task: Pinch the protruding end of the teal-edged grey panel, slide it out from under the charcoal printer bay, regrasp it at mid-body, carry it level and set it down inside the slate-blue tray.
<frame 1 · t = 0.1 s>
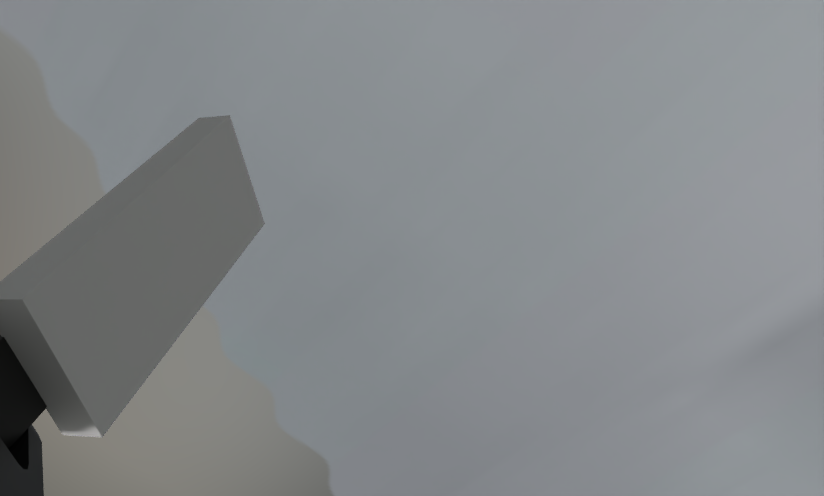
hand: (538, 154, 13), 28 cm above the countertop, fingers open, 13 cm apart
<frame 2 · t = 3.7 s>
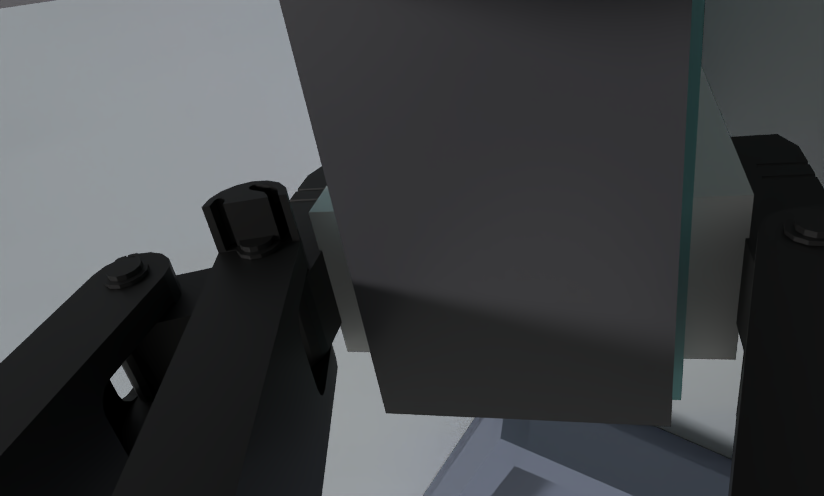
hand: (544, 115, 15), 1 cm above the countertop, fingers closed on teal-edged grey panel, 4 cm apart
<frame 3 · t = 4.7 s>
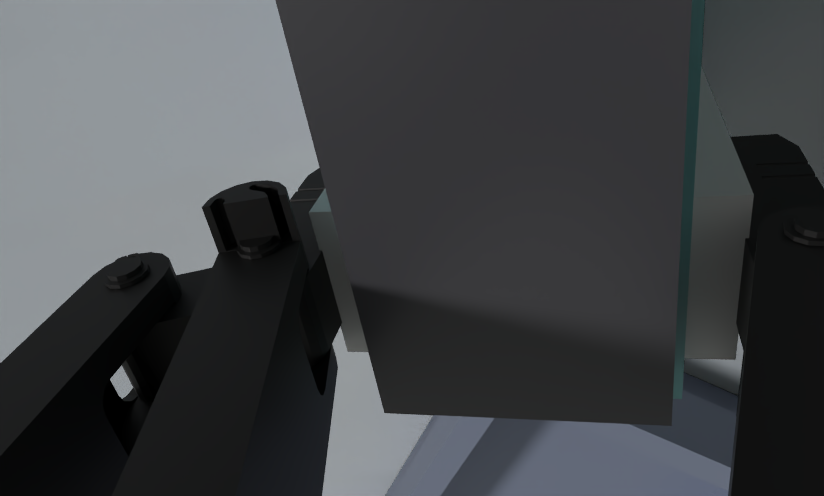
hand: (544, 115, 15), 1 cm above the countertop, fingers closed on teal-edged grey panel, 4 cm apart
when the fingers open (1 cm above the countertop, at t = 5.7 s): teal-edged grey panel stays where it is, on the countertop.
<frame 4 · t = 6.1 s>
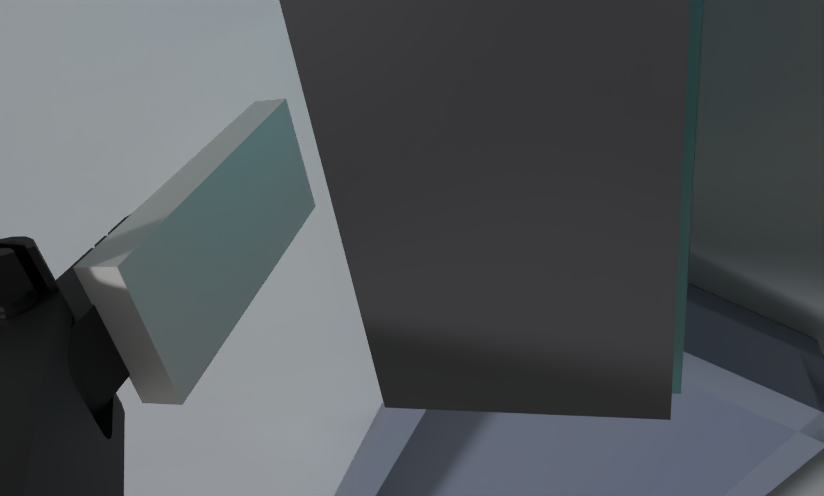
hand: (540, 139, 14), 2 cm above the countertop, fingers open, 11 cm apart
tray: (519, 445, 23), on the countertop
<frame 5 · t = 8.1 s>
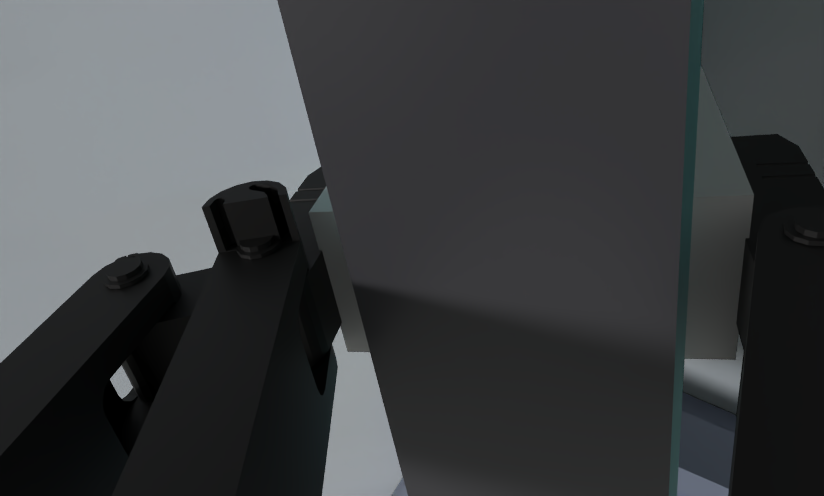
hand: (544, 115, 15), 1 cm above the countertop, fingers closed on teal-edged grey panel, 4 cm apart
teal-edged grey panel: (547, 88, 16), on the countertop, touching gripper
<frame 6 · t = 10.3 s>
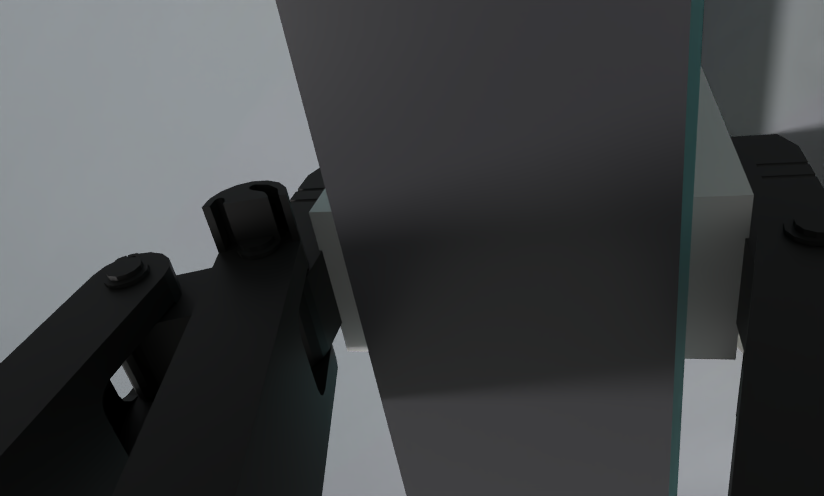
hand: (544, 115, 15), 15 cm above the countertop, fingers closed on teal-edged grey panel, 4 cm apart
teal-edged grey panel: (546, 90, 16), point 14 cm above the countertop, touching gripper
when the fingers open (4 cm above the countertop, at t = 12.6 s): teal-edged grey panel drops 2 cm, resting on tray.
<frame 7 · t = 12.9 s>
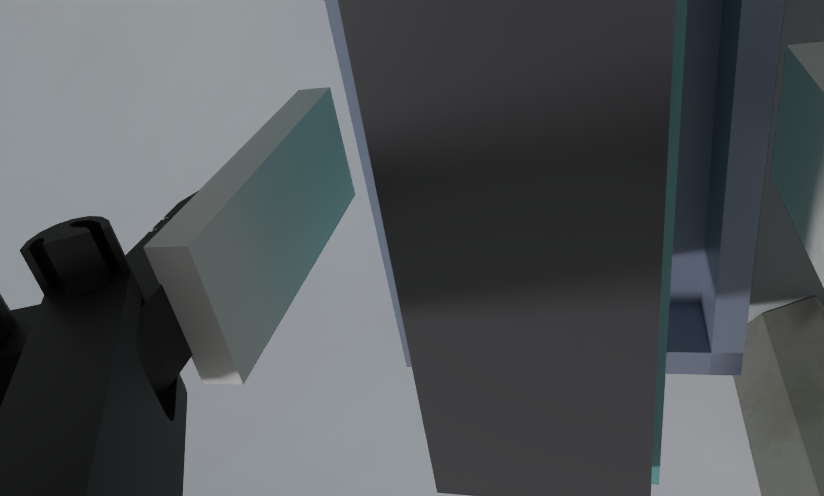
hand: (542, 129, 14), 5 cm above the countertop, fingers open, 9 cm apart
teal-edged grey panel: (549, 66, 17), point 1 cm above the countertop, touching tray
tray: (551, 62, 18), on the countertop
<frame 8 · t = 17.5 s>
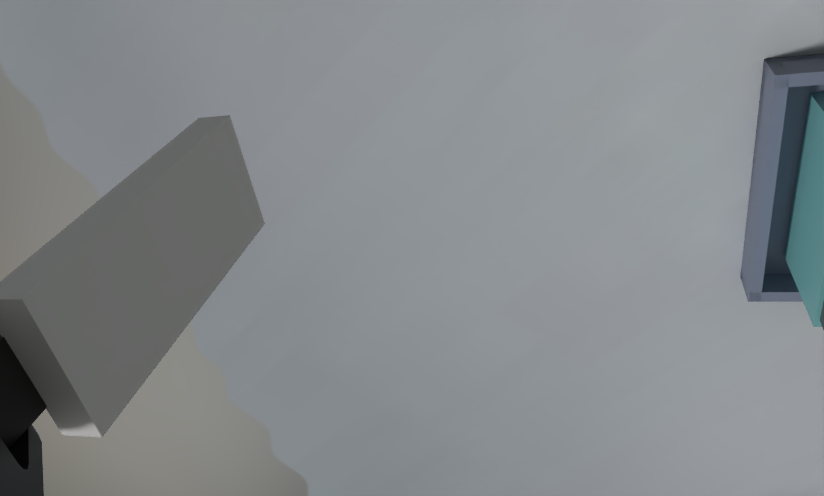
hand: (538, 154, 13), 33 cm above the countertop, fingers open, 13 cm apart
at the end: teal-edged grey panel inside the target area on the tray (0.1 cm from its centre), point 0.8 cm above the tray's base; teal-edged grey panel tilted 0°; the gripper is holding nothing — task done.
